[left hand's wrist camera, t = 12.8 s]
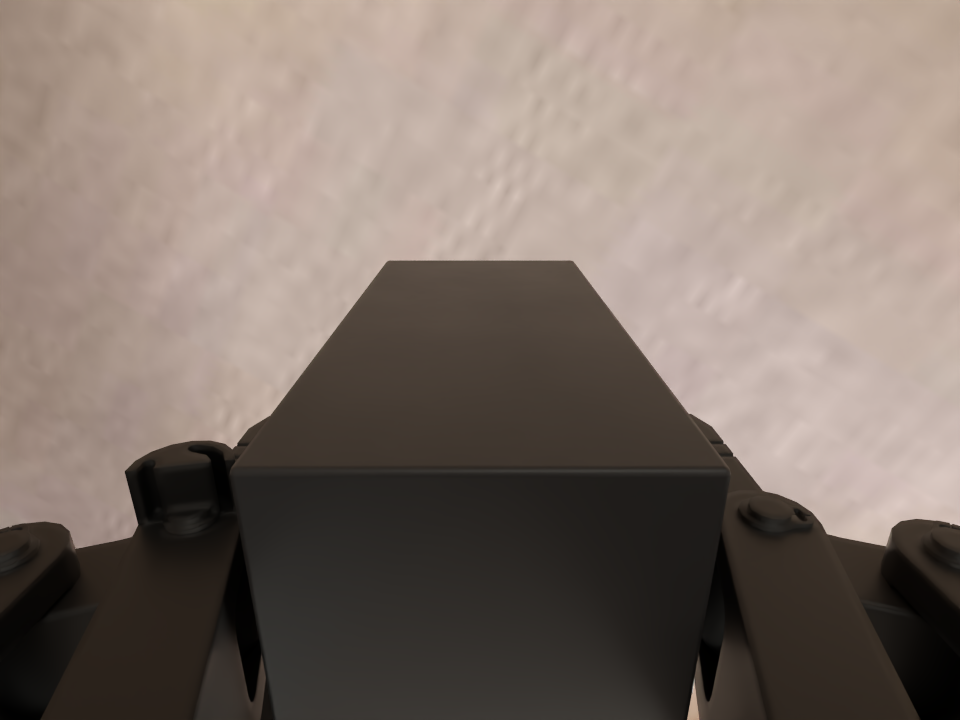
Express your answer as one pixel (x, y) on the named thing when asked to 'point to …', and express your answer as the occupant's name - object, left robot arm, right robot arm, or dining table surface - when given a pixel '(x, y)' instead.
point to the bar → (480, 510)
